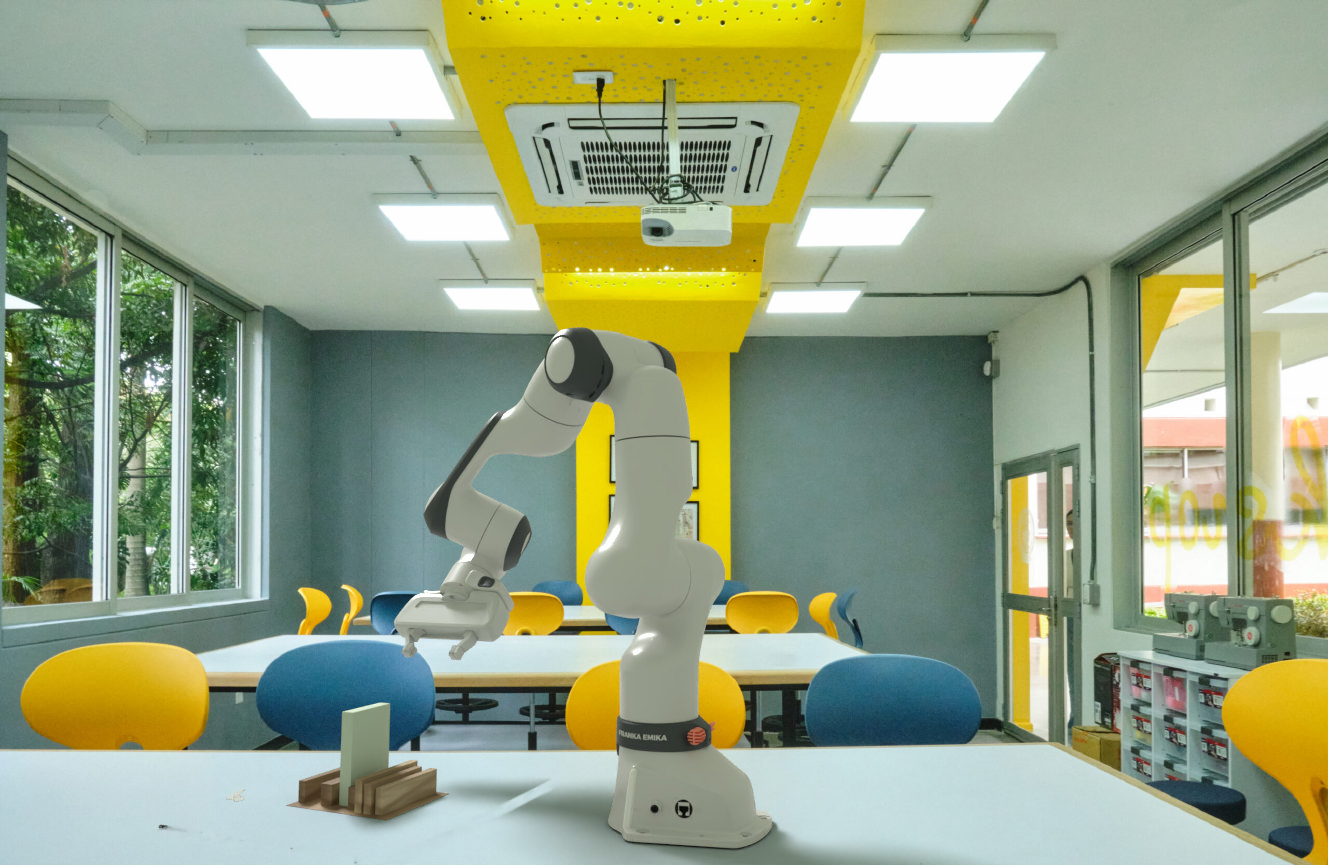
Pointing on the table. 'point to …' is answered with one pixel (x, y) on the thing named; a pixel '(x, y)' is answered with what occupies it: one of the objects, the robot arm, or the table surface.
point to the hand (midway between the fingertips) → (429, 656)
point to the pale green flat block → (363, 744)
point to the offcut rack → (371, 791)
